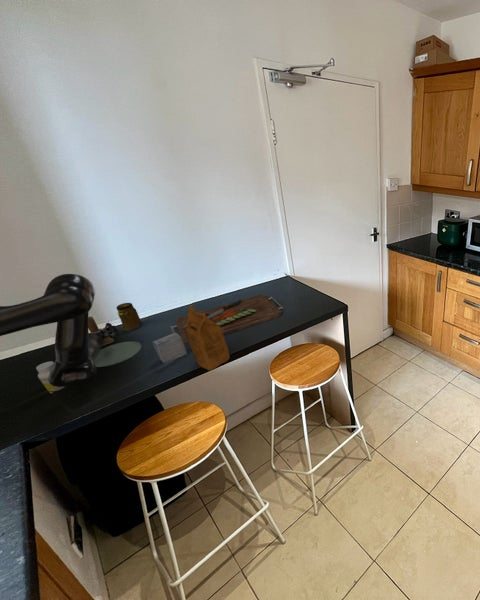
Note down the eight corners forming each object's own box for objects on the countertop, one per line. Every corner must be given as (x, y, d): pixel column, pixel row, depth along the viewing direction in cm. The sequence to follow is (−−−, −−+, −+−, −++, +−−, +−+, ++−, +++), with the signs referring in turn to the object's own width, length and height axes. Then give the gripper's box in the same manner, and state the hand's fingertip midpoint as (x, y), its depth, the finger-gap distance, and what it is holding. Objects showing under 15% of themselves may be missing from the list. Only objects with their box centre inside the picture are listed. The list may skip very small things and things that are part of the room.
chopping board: (178, 350, 123) (175, 343, 122) (168, 323, 142) (166, 317, 140) (288, 313, 149) (287, 308, 148) (268, 294, 167) (267, 289, 166)
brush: (94, 353, 121) (78, 323, 115) (91, 351, 123) (74, 321, 117) (116, 344, 127) (101, 315, 121) (112, 342, 128) (97, 313, 122)
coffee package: (218, 348, 124) (202, 299, 114) (234, 360, 118) (219, 309, 108) (191, 361, 117) (172, 309, 107) (207, 374, 111) (188, 320, 101)
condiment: (123, 329, 137) (111, 305, 131) (146, 321, 143) (136, 298, 137) (128, 335, 133) (116, 310, 127) (151, 327, 139) (141, 303, 133)
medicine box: (182, 350, 123) (175, 331, 119) (187, 354, 121) (180, 335, 117) (159, 360, 118) (151, 341, 114) (165, 365, 115) (156, 345, 111)
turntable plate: (100, 374, 111) (99, 372, 110) (80, 360, 118) (79, 358, 117) (150, 350, 123) (149, 348, 123) (129, 339, 130) (128, 337, 130)
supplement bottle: (60, 382, 107) (45, 359, 103) (75, 382, 107) (61, 359, 102) (44, 393, 102) (27, 370, 98) (60, 394, 102) (44, 370, 98)
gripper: (107, 333, 112) (114, 314, 124) (52, 346, 105) (65, 324, 117) (115, 350, 115) (121, 330, 128) (63, 363, 109) (75, 341, 121)
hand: (94, 327), depth 122 cm, fingers open, 8 cm apart
